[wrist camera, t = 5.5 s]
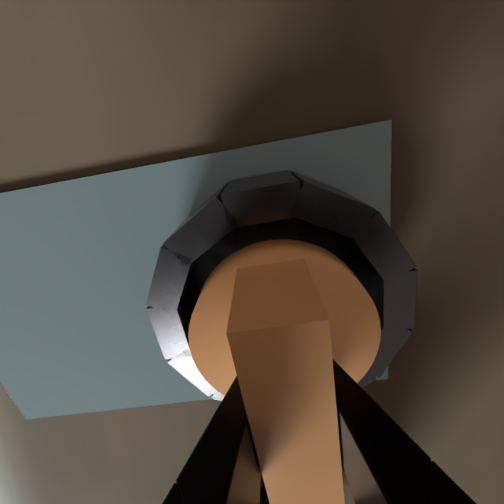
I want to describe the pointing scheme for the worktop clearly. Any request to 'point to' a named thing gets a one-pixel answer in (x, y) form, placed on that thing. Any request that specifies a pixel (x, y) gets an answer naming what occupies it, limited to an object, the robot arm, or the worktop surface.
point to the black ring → (272, 228)
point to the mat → (132, 266)
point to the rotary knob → (287, 356)
